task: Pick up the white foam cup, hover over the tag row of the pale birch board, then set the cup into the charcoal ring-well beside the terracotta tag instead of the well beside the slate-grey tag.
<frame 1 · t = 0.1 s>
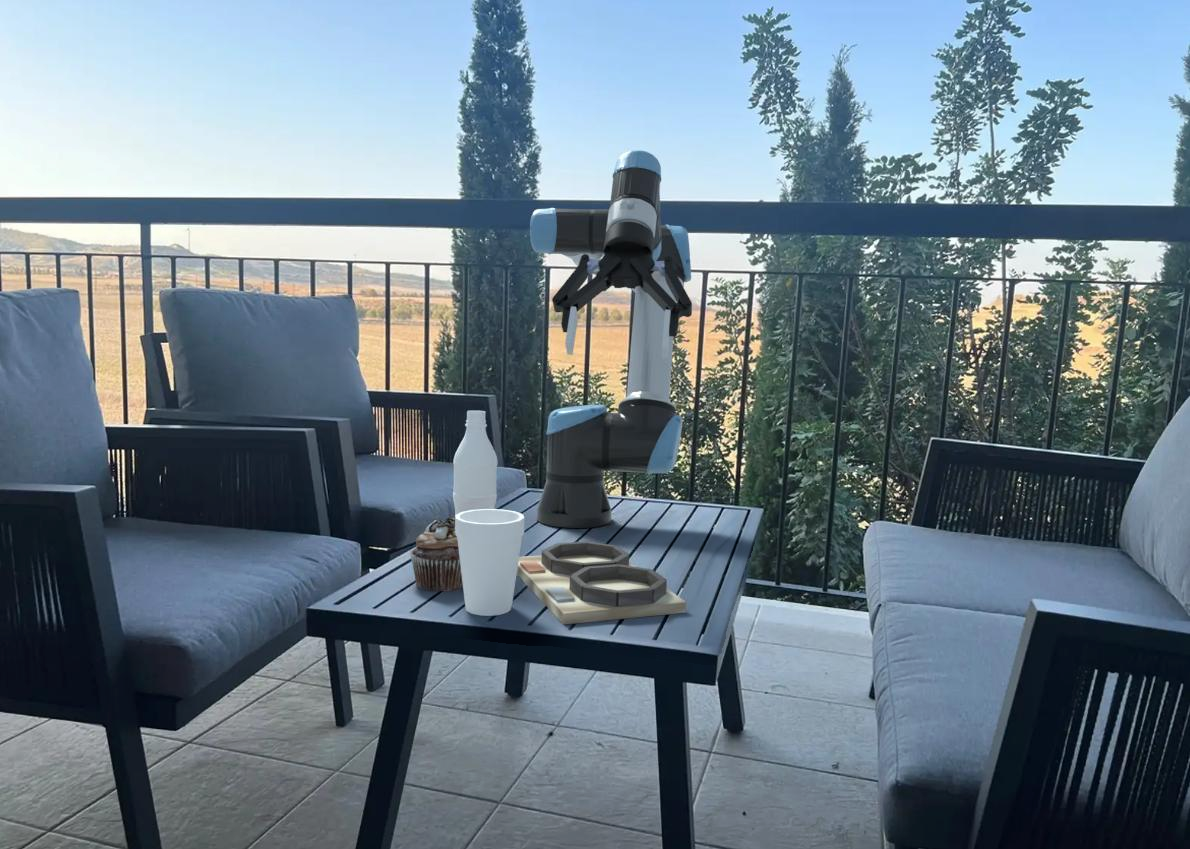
hand: (616, 351, 120), 36 cm above the table, tool tilted 35°, fingers open, 13 cm apart
water bottle: (474, 563, 141), on the table
socket board: (590, 587, 129), on the table
cupcake: (442, 584, 129), on the table
foam cup: (488, 609, 118), on the table
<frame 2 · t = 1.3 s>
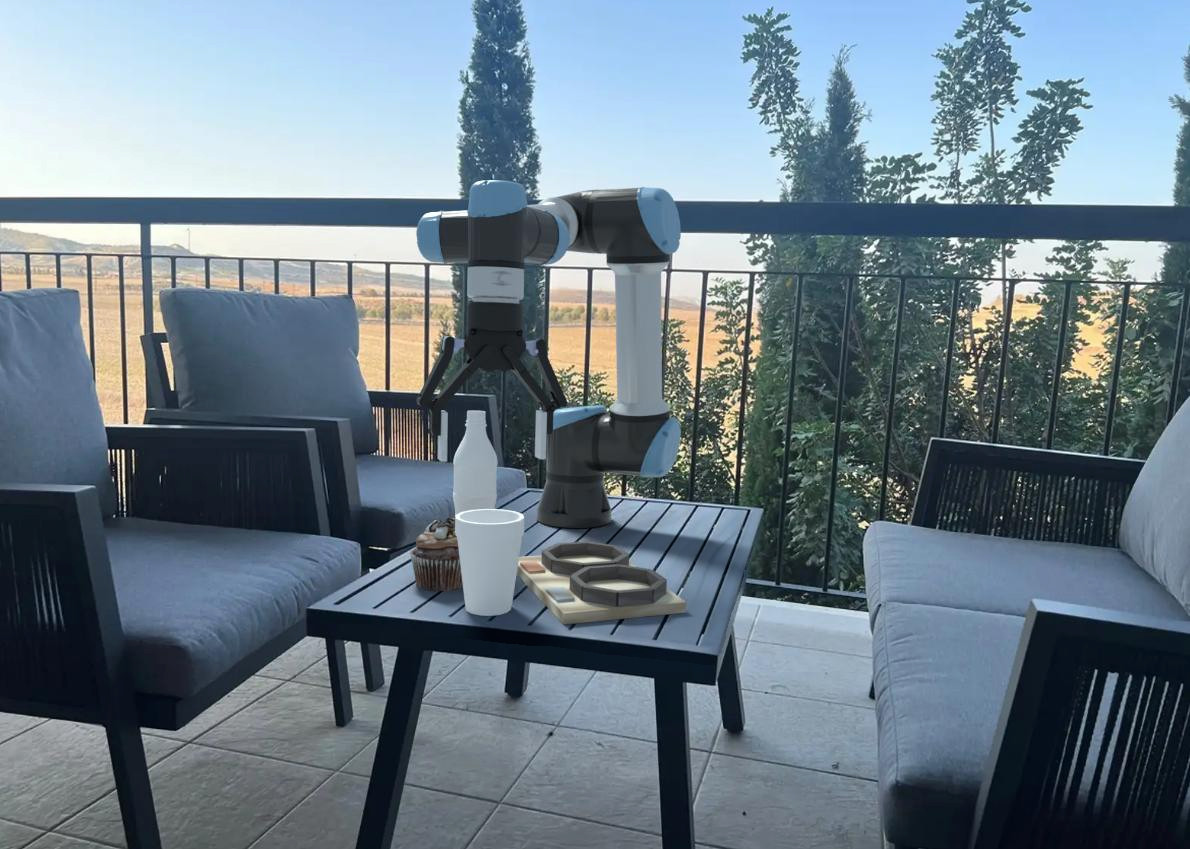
hand: (492, 459, 116), 21 cm above the table, tool pointing down, fingers open, 13 cm apart
nothing on the table moved.
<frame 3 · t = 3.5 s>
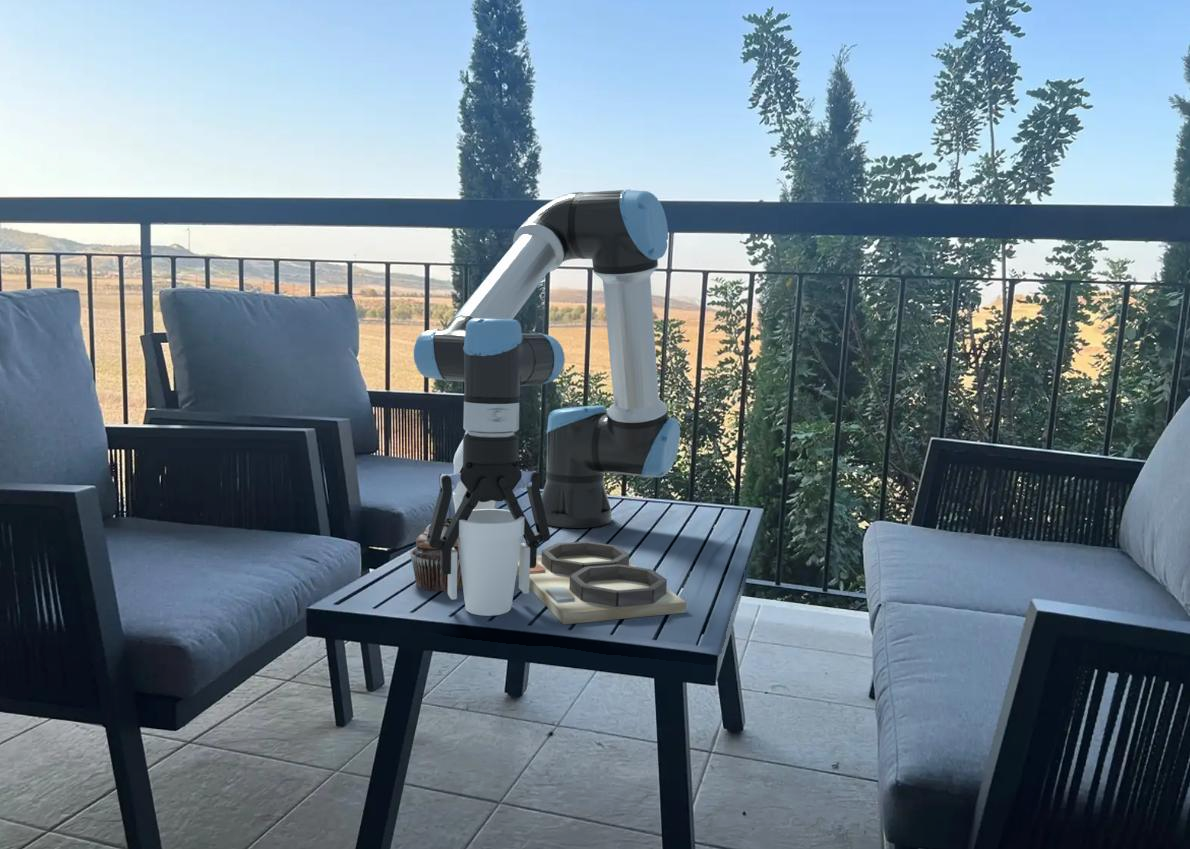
hand: (488, 593, 118), 2 cm above the table, tool pointing down, fingers closed on foam cup, 9 cm apart
foam cup: (488, 609, 118), on the table, touching gripper
everything else where it was.
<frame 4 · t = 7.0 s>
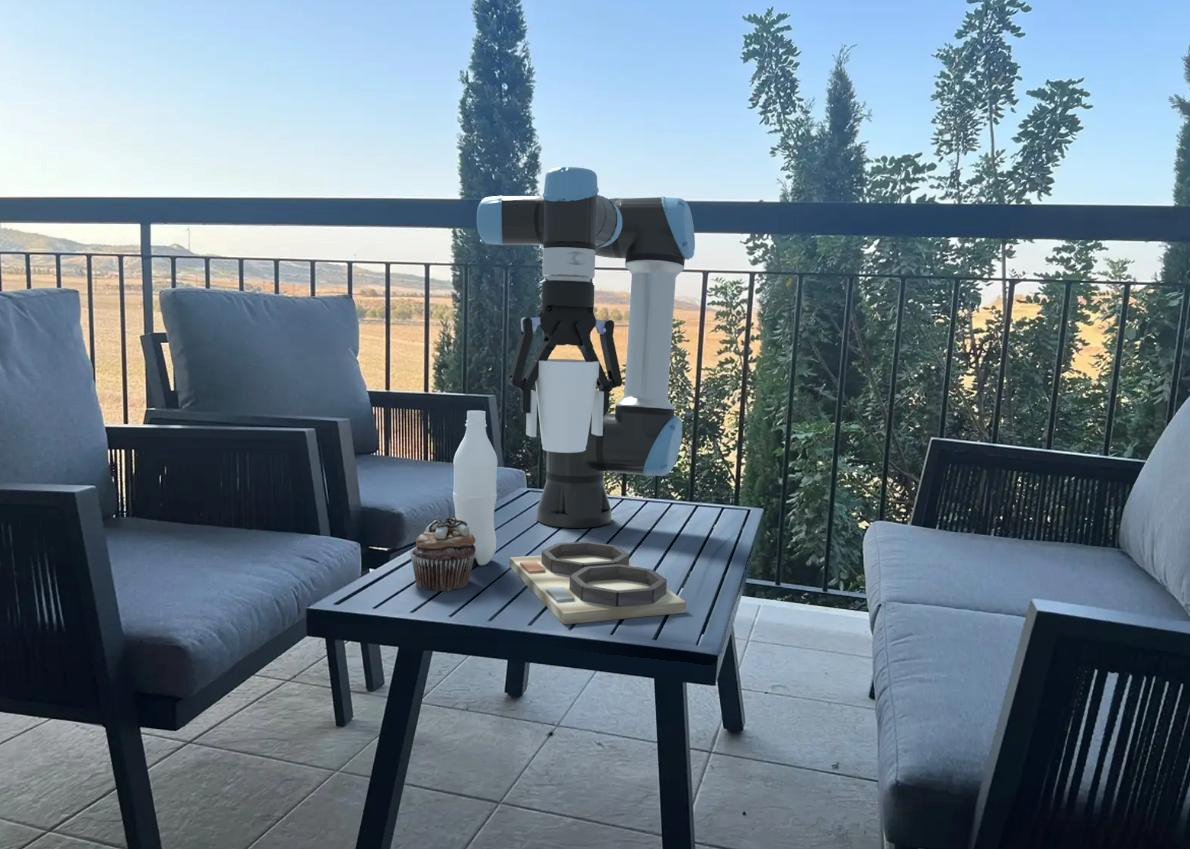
hand: (564, 435, 125), 23 cm above the table, tool pointing down, fingers closed on foam cup, 9 cm apart
foam cup: (564, 450, 125), point 21 cm above the table, touching gripper
everything else where it was.
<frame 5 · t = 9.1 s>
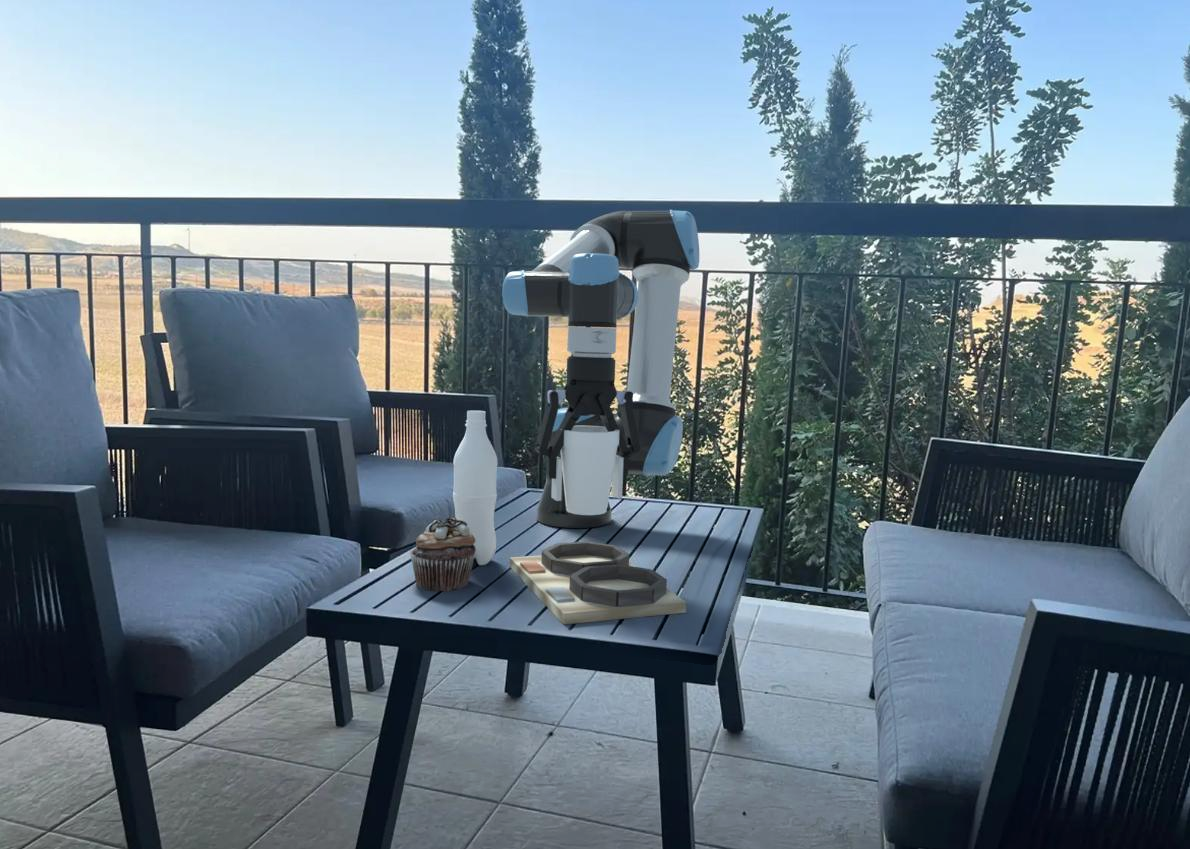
hand: (586, 497, 134), 12 cm above the table, tool pointing down, fingers closed on foam cup, 9 cm apart
foam cup: (586, 512, 135), point 10 cm above the table, touching gripper
everything else where it was.
when the fingers open (5 cm above the table, at t = 10.9 s): foam cup drops 1 cm, resting on socket board.
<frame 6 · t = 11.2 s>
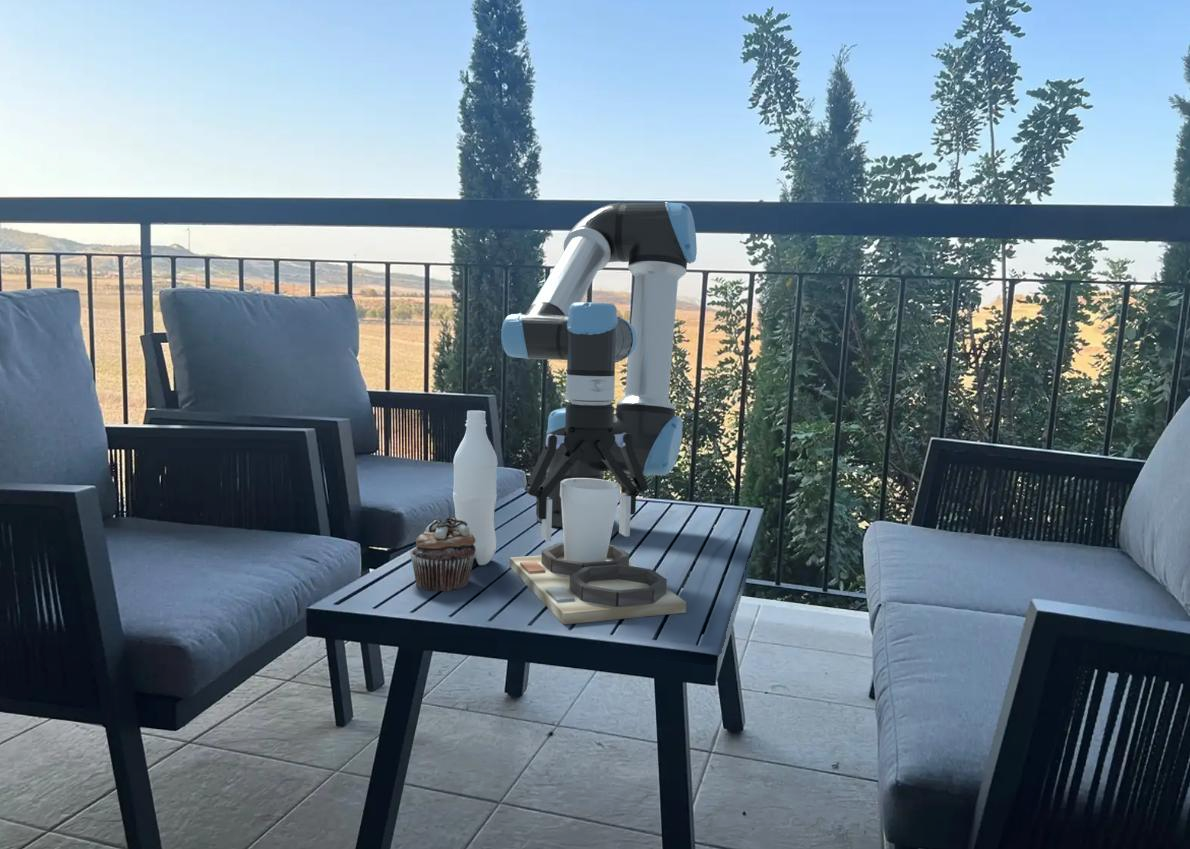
hand: (585, 537, 135), 6 cm above the table, tool pointing down, fingers open, 12 cm apart
foam cup: (584, 565, 136), point 1 cm above the table, touching socket board
everything else where it was.
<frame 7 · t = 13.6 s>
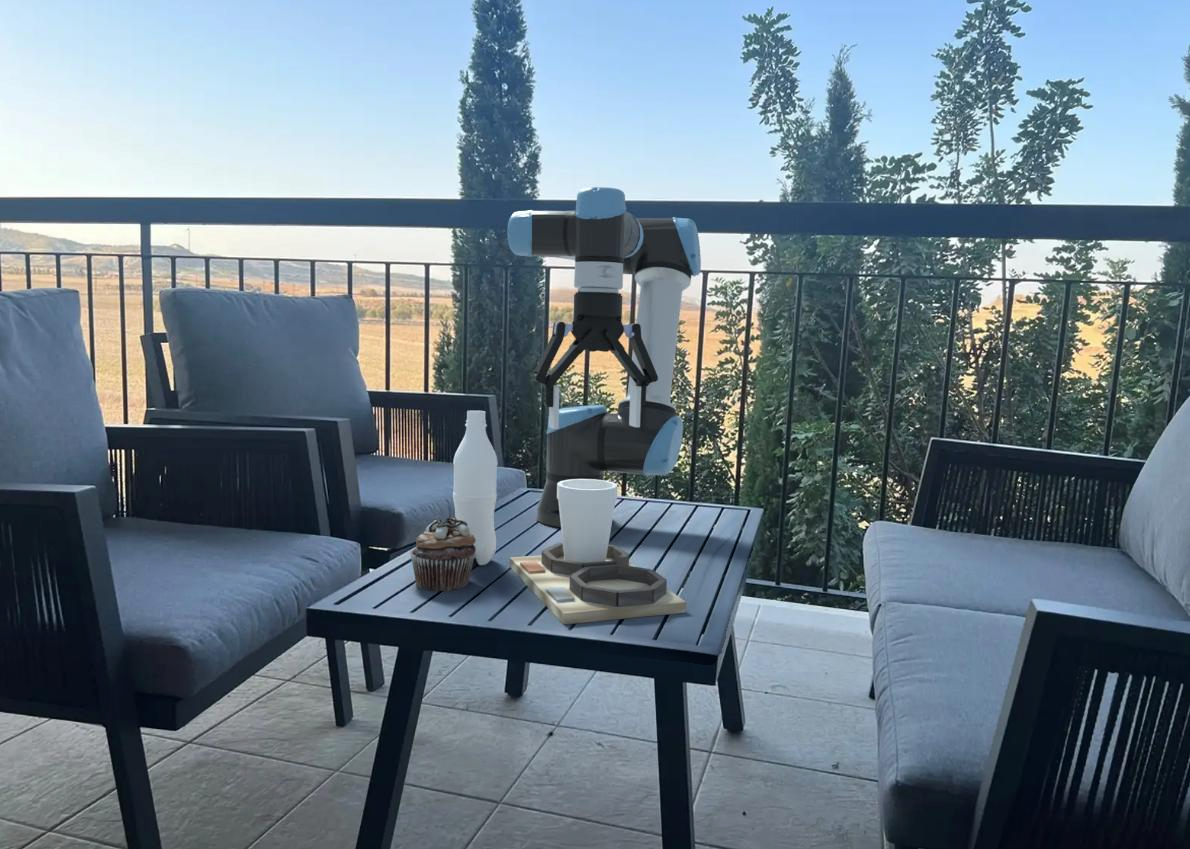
hand: (594, 427, 135), 23 cm above the table, tool pointing down, fingers open, 13 cm apart
nothing on the table moved.
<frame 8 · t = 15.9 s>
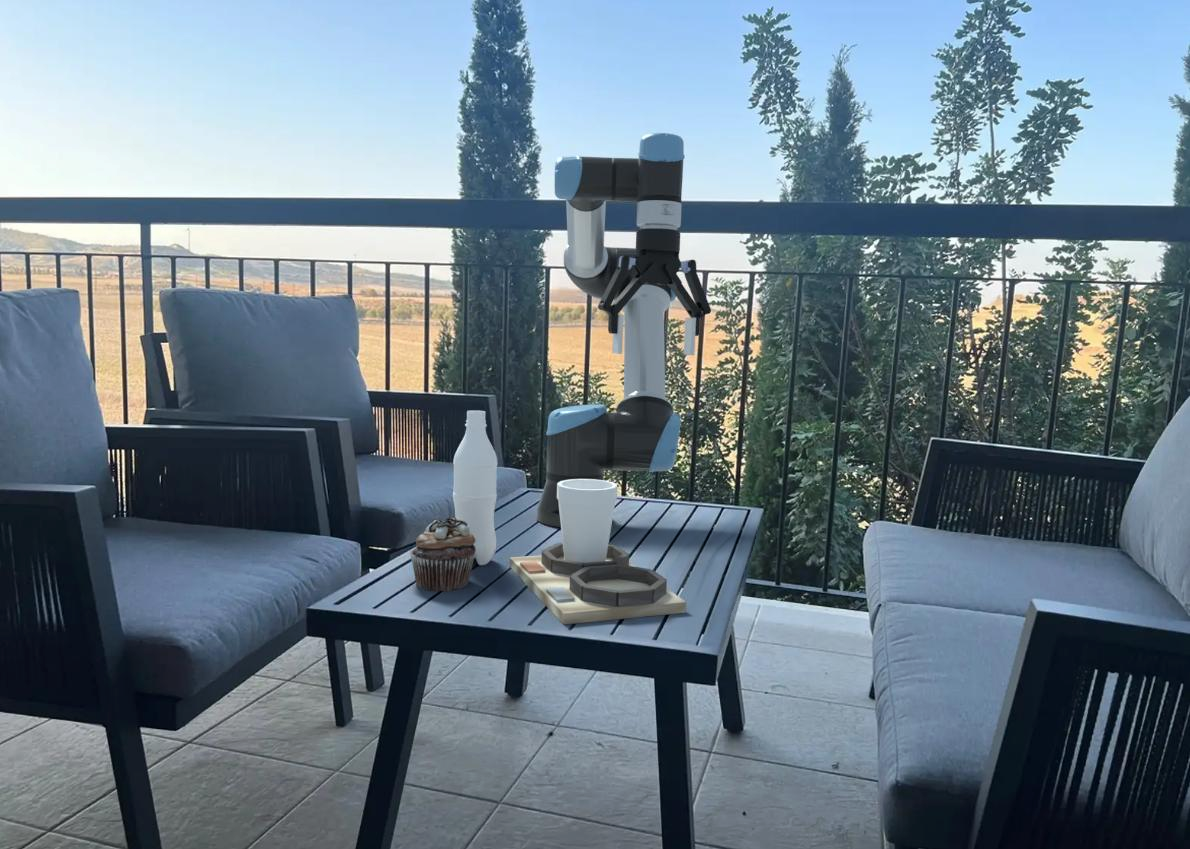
hand: (653, 354, 148), 35 cm above the table, tool pointing down, fingers open, 13 cm apart
nothing on the table moved.
at the end: foam cup 0.0 cm from the target spot on the socket board, point 1.3 cm above the socket board's base; foam cup tilted 0°; the gripper is holding nothing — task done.
